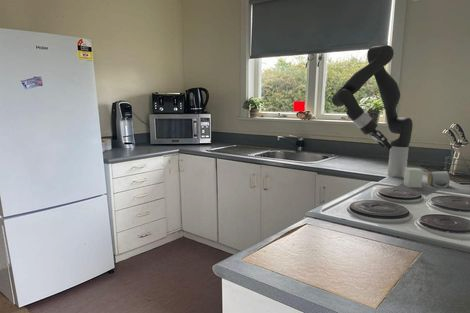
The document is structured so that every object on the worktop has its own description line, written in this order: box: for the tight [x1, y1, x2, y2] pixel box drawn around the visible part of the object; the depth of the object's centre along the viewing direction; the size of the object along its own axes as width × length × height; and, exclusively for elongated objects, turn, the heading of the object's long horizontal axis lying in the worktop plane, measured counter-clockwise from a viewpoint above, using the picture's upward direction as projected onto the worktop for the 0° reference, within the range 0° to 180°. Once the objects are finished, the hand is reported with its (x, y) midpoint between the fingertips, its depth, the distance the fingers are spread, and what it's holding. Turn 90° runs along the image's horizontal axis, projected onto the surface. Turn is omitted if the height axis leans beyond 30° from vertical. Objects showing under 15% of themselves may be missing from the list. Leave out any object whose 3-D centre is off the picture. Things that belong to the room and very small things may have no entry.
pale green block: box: [403, 166, 424, 188], centre depth 160 cm, size 6×6×8 cm
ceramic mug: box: [427, 170, 451, 189], centre depth 162 cm, size 11×8×8 cm
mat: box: [389, 182, 441, 197], centre depth 155 cm, size 20×16×1 cm
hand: (387, 147), depth 159 cm, fingers open, 8 cm apart
